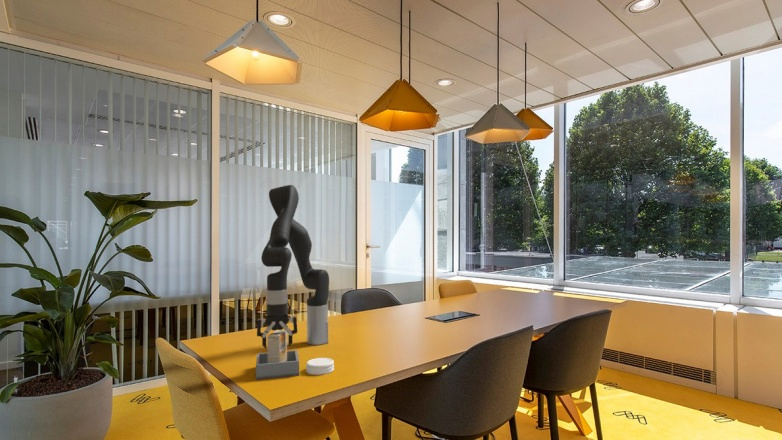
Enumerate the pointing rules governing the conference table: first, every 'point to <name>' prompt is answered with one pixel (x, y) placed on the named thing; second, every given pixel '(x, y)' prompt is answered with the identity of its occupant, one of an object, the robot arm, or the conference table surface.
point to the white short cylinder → (320, 366)
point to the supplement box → (277, 347)
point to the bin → (277, 366)
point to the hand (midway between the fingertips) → (277, 346)
